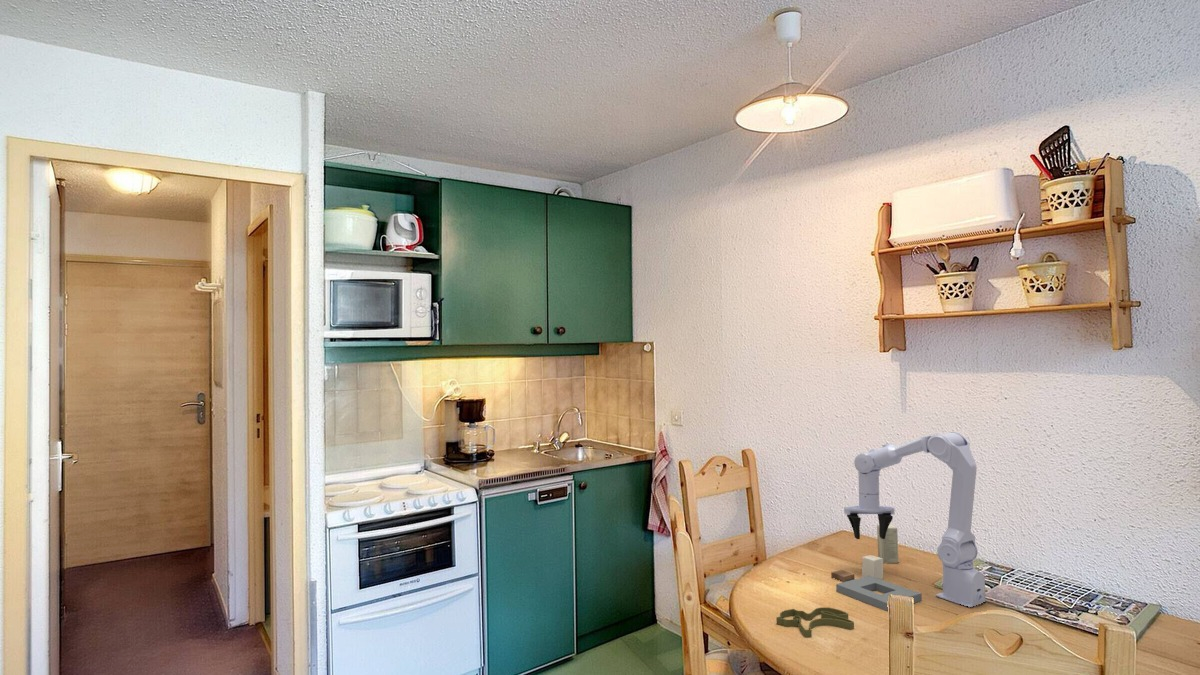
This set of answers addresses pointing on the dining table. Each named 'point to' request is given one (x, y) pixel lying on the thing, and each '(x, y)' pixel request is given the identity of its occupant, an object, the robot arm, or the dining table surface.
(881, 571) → the peg
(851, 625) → the cookie cutter
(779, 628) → the dining table surface
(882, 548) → the box
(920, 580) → the dining table surface
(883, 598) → the board
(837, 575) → the short block
